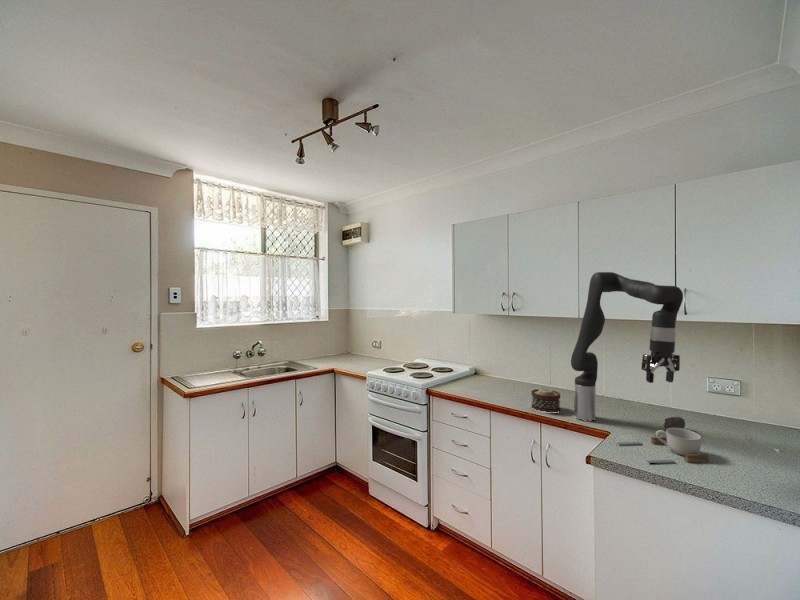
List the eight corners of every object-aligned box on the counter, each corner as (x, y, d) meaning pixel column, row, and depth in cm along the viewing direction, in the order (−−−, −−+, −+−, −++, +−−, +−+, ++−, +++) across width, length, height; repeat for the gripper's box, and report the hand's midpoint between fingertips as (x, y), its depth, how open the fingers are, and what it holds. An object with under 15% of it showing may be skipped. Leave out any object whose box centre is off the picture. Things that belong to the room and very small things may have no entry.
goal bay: (616, 444, 146) (616, 442, 146) (639, 443, 146) (639, 441, 146) (649, 464, 128) (649, 462, 128) (675, 463, 129) (675, 461, 129)
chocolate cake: (550, 395, 180) (525, 389, 192) (550, 416, 180) (525, 408, 192) (566, 390, 188) (541, 385, 200) (566, 410, 188) (541, 404, 201)
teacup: (701, 452, 137) (701, 432, 137) (700, 462, 129) (700, 440, 129) (657, 442, 147) (657, 423, 147) (654, 451, 139) (654, 431, 139)
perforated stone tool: (677, 427, 164) (677, 412, 164) (690, 431, 159) (690, 415, 159) (660, 433, 157) (660, 417, 157) (673, 437, 152) (673, 421, 152)
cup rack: (651, 443, 146) (651, 437, 146) (669, 442, 147) (669, 436, 147) (687, 462, 129) (687, 455, 129) (708, 461, 130) (708, 454, 130)
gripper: (669, 337, 135) (666, 379, 136) (637, 337, 133) (634, 379, 134) (688, 340, 128) (685, 384, 129) (655, 340, 126) (652, 385, 126)
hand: (659, 382), depth 131 cm, fingers open, 8 cm apart
